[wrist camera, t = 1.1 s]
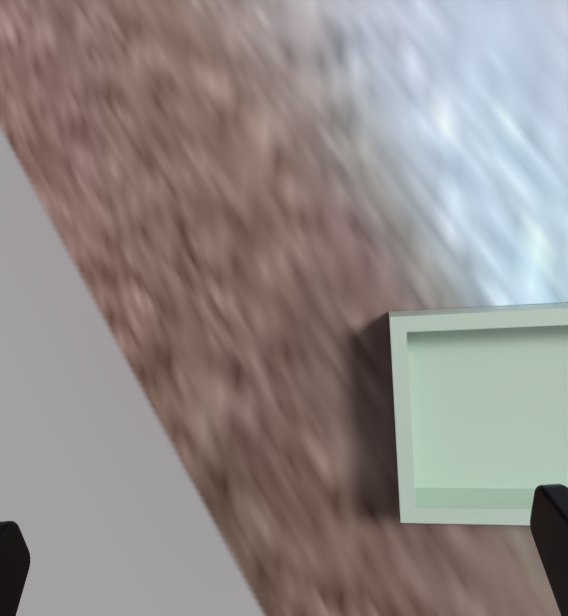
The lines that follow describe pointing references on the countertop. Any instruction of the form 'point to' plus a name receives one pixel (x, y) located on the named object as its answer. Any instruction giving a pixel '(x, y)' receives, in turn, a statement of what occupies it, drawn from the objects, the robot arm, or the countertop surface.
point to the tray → (479, 410)
